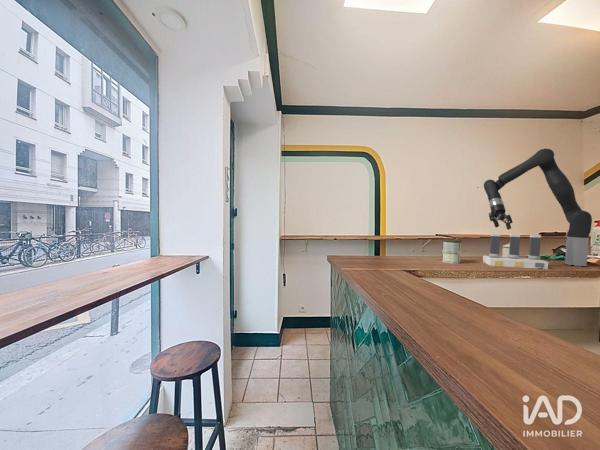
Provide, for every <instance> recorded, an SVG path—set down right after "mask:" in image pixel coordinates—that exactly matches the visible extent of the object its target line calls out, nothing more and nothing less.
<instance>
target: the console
mask: <svg viewBox="0 0 600 450" xmlns="http://www.w3.org/2000/svg"><path fill="white" fill-rule="evenodd" d="M482 262H483V263H484V264H486V265H488V266H492V267H504V268H505V267H507V268H508V267H509V268H523V269H525V268H526V269H538V268H543V269H542V270H548V269H549V261H547V260H543V259H540V260H535V259H528V257H520V258H519V259H516V258H509V257H502V256H500V257H499V258H497V257H489V255H483V256H482Z"/></svg>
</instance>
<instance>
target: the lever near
mask: <svg viewBox="0 0 600 450" xmlns="http://www.w3.org/2000/svg"><path fill="white" fill-rule="evenodd" d="M541 237H542V234H532V233H531V234H529V250H528V255H527V258H528V259H535V260H541V256H540V254H541V240H542V239H541Z"/></svg>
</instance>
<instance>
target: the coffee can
mask: <svg viewBox="0 0 600 450" xmlns="http://www.w3.org/2000/svg"><path fill="white" fill-rule="evenodd" d="M461 249H462V240H461V239H455V238H454V239H451V238H443V239H442V252H441V255H442V256H441V262H443V263H445V264H461Z"/></svg>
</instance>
